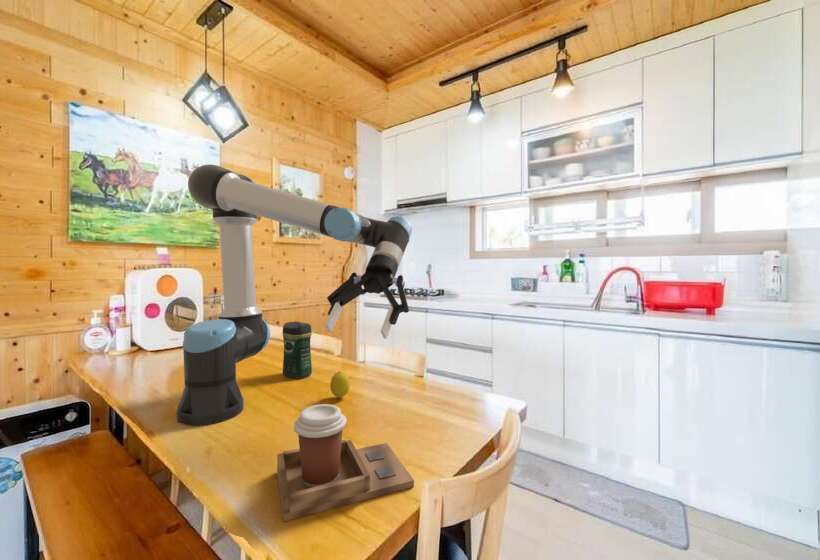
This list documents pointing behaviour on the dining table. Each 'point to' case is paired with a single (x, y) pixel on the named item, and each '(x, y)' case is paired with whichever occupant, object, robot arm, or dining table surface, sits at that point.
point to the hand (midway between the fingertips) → (355, 331)
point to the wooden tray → (341, 480)
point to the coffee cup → (320, 443)
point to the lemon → (340, 384)
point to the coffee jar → (297, 350)
